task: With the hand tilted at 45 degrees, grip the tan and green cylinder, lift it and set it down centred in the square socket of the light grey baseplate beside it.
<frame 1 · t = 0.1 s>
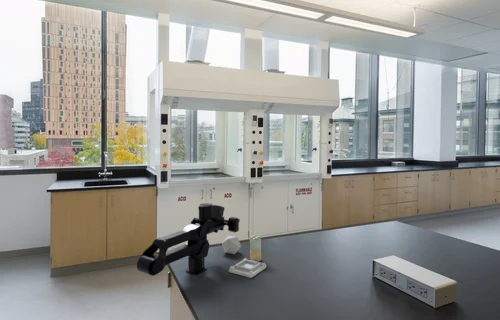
hand: (231, 218, 155), 17 cm above the table, tool horizontal, fingers open, 9 cm apart
tan and green cylinder: (255, 259, 146), on the table
baseplate: (247, 269, 135), on the table
die: (231, 253, 155), on the table
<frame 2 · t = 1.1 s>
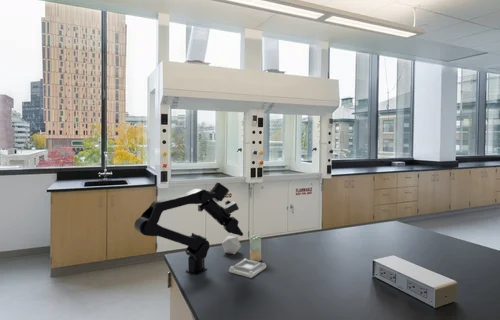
hand: (239, 232, 142), 14 cm above the table, tool tilted 45°, fingers open, 9 cm apart
nothing on the table moved.
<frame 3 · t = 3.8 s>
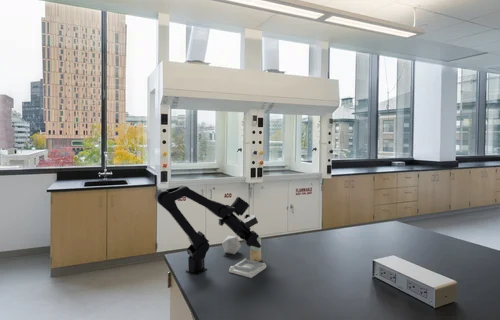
hand: (258, 245, 146), 7 cm above the table, tool tilted 45°, fingers closed on tan and green cylinder, 5 cm apart
tan and green cylinder: (255, 259, 146), on the table, touching gripper
everything else where it was.
when the fingers open (9 cm above the table, at t = 7.8 s): tan and green cylinder drops 1 cm, resting on baseplate.
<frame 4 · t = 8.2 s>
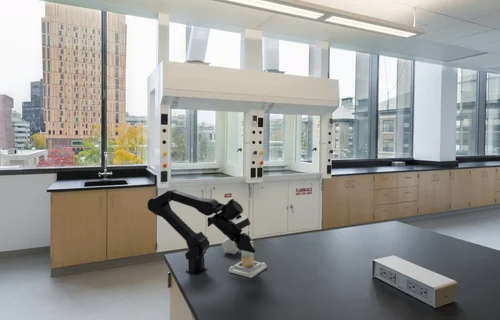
hand: (250, 248, 135), 9 cm above the table, tool tilted 45°, fingers open, 9 cm apart
tan and green cylinder: (247, 266, 135), point 1 cm above the table, touching baseplate
everything else where it was.
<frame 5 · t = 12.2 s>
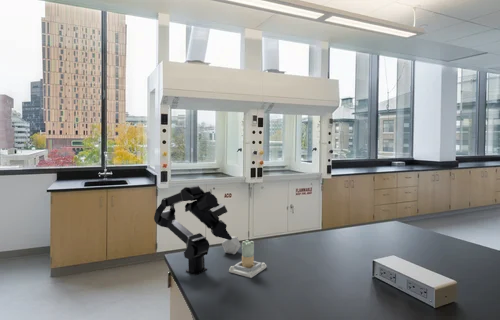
hand: (228, 236, 137), 14 cm above the table, tool tilted 45°, fingers open, 9 cm apart
nothing on the table moved.
at the end: tan and green cylinder 0.1 cm off-centre on the baseplate, point 1.3 cm above the baseplate's base; tan and green cylinder tilted 1°; the gripper is holding nothing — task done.
